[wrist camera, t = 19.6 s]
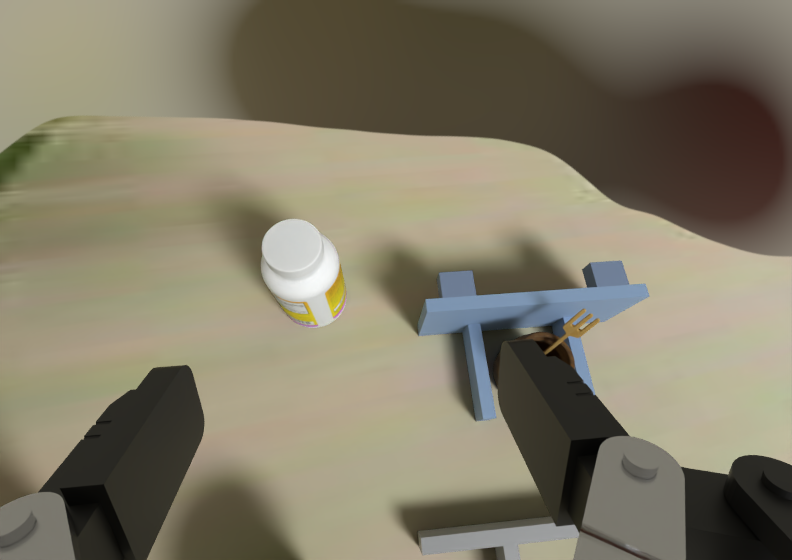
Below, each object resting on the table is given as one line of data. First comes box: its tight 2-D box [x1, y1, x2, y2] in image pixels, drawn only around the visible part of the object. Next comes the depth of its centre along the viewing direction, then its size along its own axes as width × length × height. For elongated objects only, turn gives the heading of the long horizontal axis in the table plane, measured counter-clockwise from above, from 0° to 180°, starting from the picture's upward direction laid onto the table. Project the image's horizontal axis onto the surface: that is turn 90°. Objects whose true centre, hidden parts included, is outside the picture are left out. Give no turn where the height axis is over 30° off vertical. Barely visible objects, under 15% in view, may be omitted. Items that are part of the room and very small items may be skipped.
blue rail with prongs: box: [417, 261, 649, 421], centre depth 39 cm, size 12×20×8 cm, turn 95°
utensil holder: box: [493, 309, 600, 386], centre depth 36 cm, size 6×6×12 cm
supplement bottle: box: [261, 219, 347, 328], centre depth 38 cm, size 7×7×13 cm
